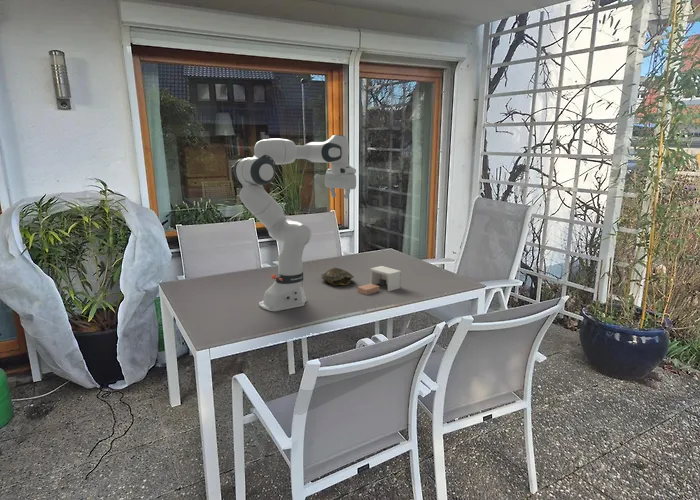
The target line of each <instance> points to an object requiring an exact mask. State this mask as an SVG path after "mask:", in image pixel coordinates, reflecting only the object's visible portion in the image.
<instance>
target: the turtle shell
mask: <svg viewBox="0 0 700 500" xmlns="http://www.w3.org/2000/svg"><path fill="white" fill-rule="evenodd" d="M353 278H355V276H354V275H352V274H351V273H350V272H349V271H347V270H345V269H341V268H339V267H332V268H330V269H328V270H327V271H326V272H325V273H322V274H321V275H320V279H322V280H323V281H325V282H327V283H329V284H331V285H333V286H347V285H349V284H350V283H351V280H352V279H353Z"/></svg>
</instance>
